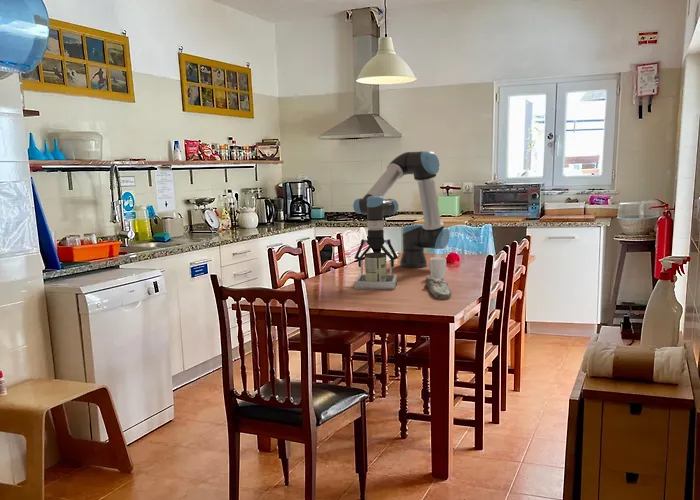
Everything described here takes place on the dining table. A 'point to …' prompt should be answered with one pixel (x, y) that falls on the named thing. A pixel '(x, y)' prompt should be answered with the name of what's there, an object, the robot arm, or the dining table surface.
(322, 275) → the dining table surface
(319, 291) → the dining table surface
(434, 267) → the white cup
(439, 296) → the elongated rock
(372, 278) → the coffee can
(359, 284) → the square holder
